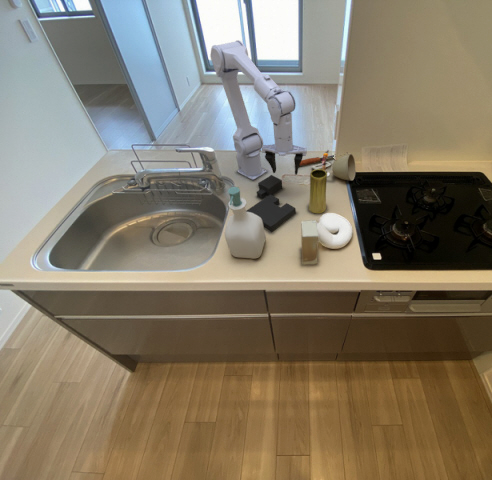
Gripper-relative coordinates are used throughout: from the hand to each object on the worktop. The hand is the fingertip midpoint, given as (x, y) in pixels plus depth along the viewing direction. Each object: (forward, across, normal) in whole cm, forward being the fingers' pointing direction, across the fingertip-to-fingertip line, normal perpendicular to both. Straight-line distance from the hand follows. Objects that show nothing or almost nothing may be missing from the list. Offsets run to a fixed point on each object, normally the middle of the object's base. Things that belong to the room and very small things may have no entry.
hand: (285, 172), depth 98 cm
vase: (+10, +12, -6) cm, 17 cm away
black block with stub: (+10, -7, +1) cm, 12 cm away
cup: (+7, +16, +15) cm, 23 cm away
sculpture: (+10, +18, -18) cm, 28 cm away
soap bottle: (+10, -7, -28) cm, 30 cm away
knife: (+8, +13, +23) cm, 28 cm away
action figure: (+10, +13, +16) cm, 23 cm away
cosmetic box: (+10, +12, -29) cm, 33 cm away
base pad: (+10, -3, -12) cm, 16 cm away
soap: (+10, +11, +20) cm, 25 cm away
